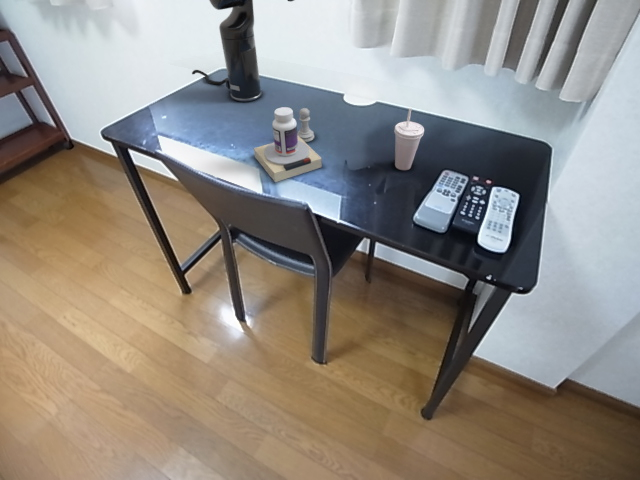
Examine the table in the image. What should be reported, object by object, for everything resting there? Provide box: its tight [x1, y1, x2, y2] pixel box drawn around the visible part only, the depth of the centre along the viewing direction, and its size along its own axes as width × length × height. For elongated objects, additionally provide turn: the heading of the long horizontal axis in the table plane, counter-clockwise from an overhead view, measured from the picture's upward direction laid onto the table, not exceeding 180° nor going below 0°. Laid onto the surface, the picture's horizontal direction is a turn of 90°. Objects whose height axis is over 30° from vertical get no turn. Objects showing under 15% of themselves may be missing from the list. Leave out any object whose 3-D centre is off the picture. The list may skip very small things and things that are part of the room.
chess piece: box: [297, 107, 315, 143], centre depth 95 cm, size 5×5×8 cm
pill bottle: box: [271, 106, 298, 156], centre depth 84 cm, size 5×5×10 cm
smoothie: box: [393, 107, 425, 171], centre depth 83 cm, size 6×6×14 cm
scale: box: [253, 136, 323, 183], centre depth 88 cm, size 12×12×3 cm
